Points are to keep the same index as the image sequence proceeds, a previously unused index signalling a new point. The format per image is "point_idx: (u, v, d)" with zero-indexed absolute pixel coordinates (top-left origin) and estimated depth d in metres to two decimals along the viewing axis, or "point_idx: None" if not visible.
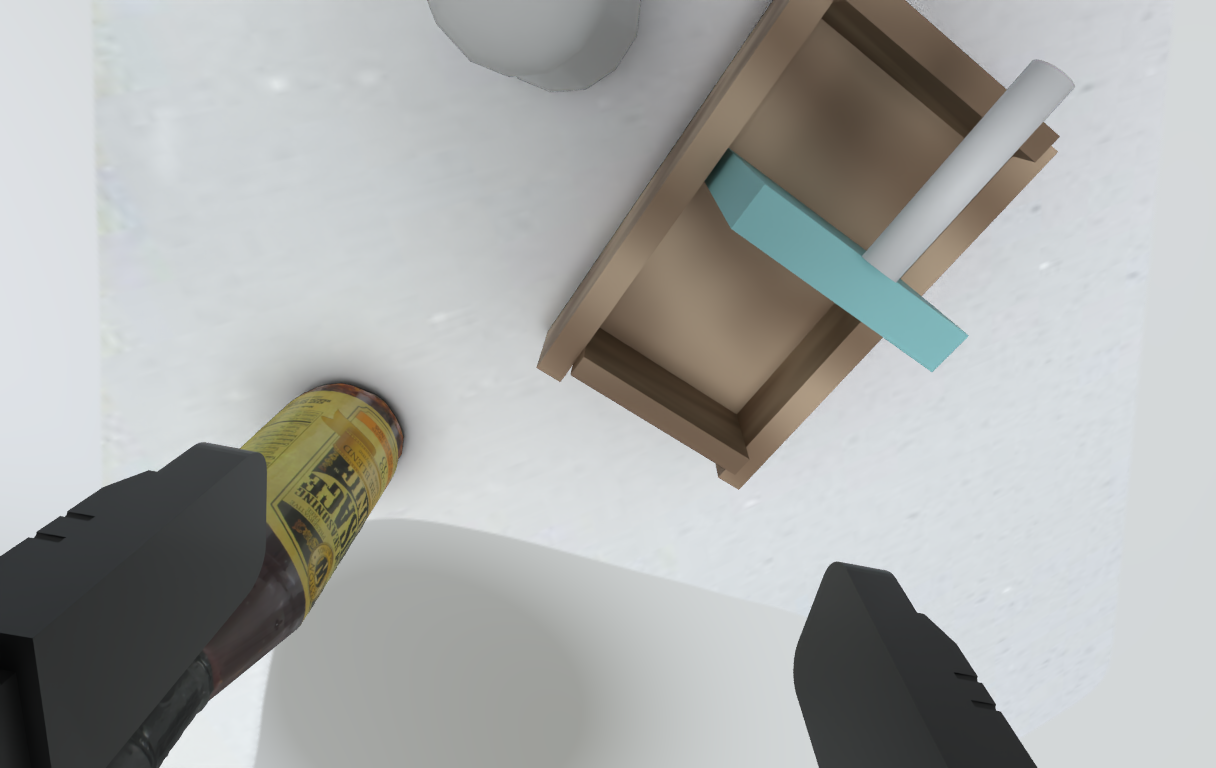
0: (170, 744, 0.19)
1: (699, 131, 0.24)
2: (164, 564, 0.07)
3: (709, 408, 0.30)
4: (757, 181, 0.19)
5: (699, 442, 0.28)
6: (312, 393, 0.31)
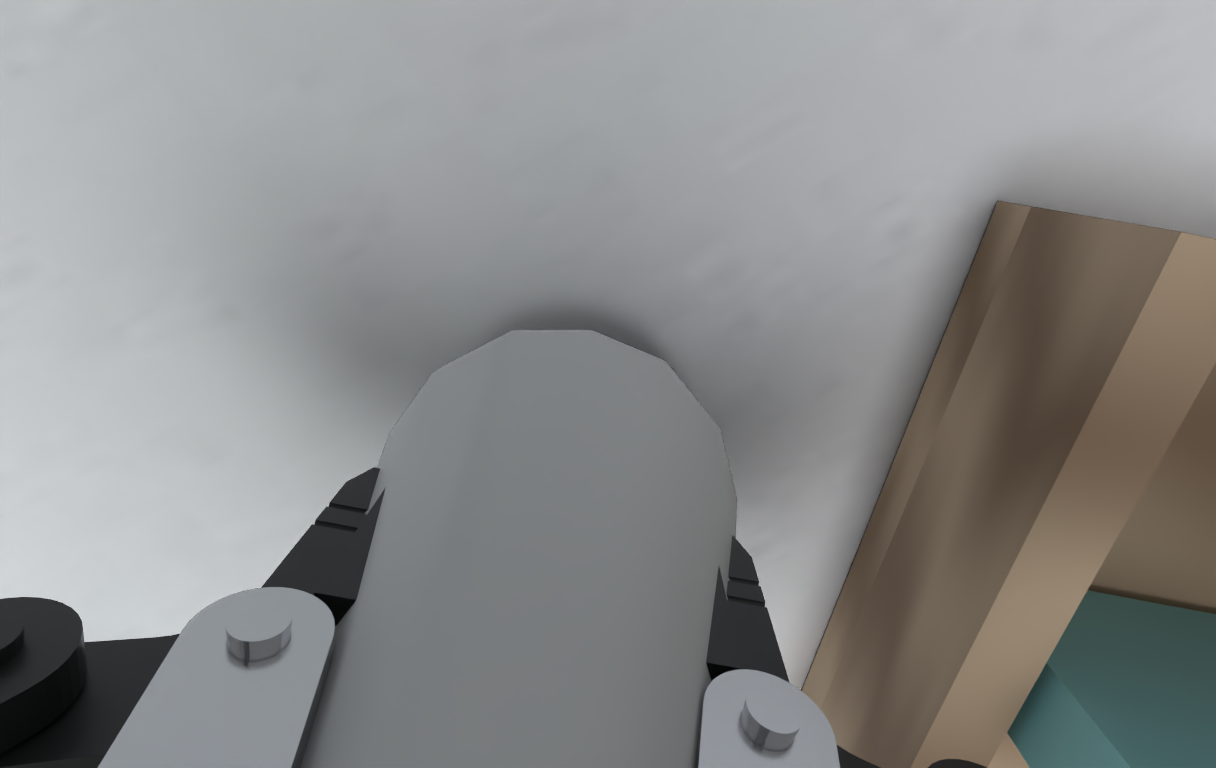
0: None
1: (959, 660, 0.10)
2: None
3: None
4: None
5: None
6: None
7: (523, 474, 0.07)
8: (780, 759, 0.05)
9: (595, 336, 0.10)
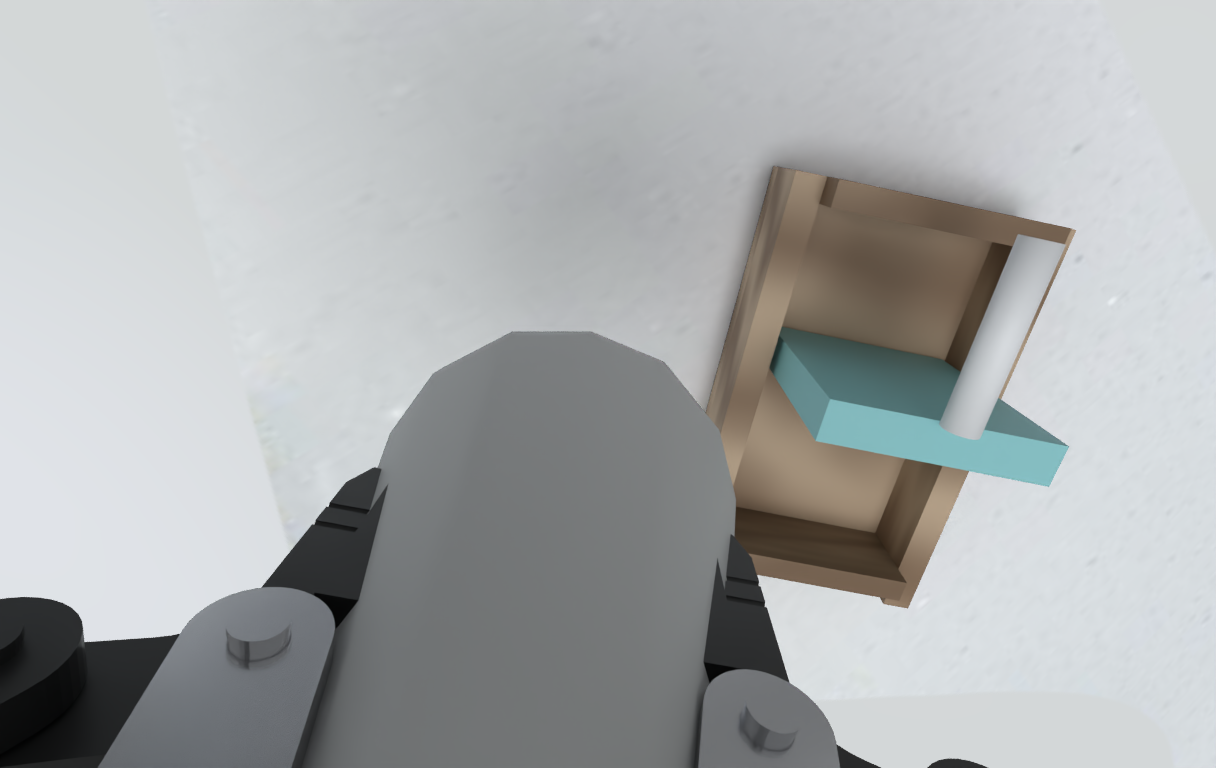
0: None
1: (748, 336, 0.27)
2: None
3: (848, 541, 0.32)
4: (821, 391, 0.22)
5: (853, 583, 0.29)
6: None
7: (521, 476, 0.07)
8: (780, 758, 0.05)
9: (595, 338, 0.10)
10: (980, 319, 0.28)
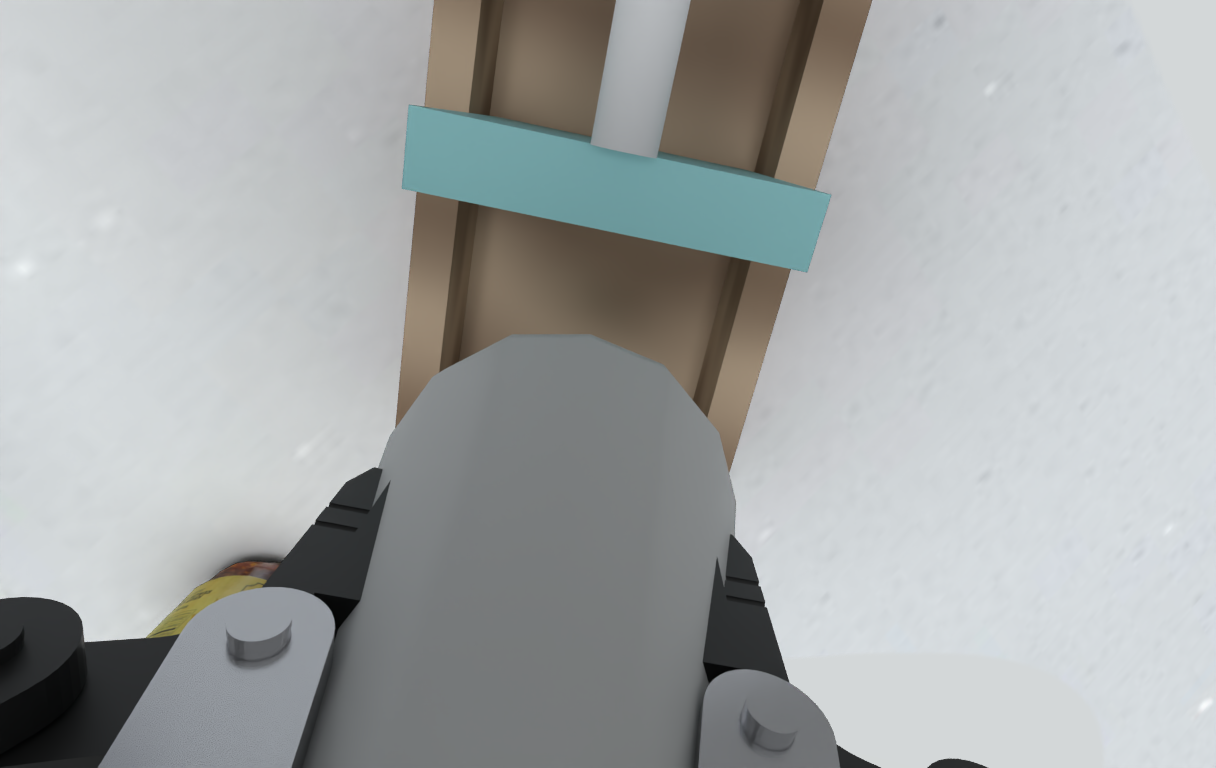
0: None
1: (426, 106, 0.18)
2: None
3: None
4: None
5: None
6: (197, 588, 0.26)
7: (521, 480, 0.07)
8: (780, 759, 0.05)
9: (594, 341, 0.10)
10: (785, 93, 0.19)
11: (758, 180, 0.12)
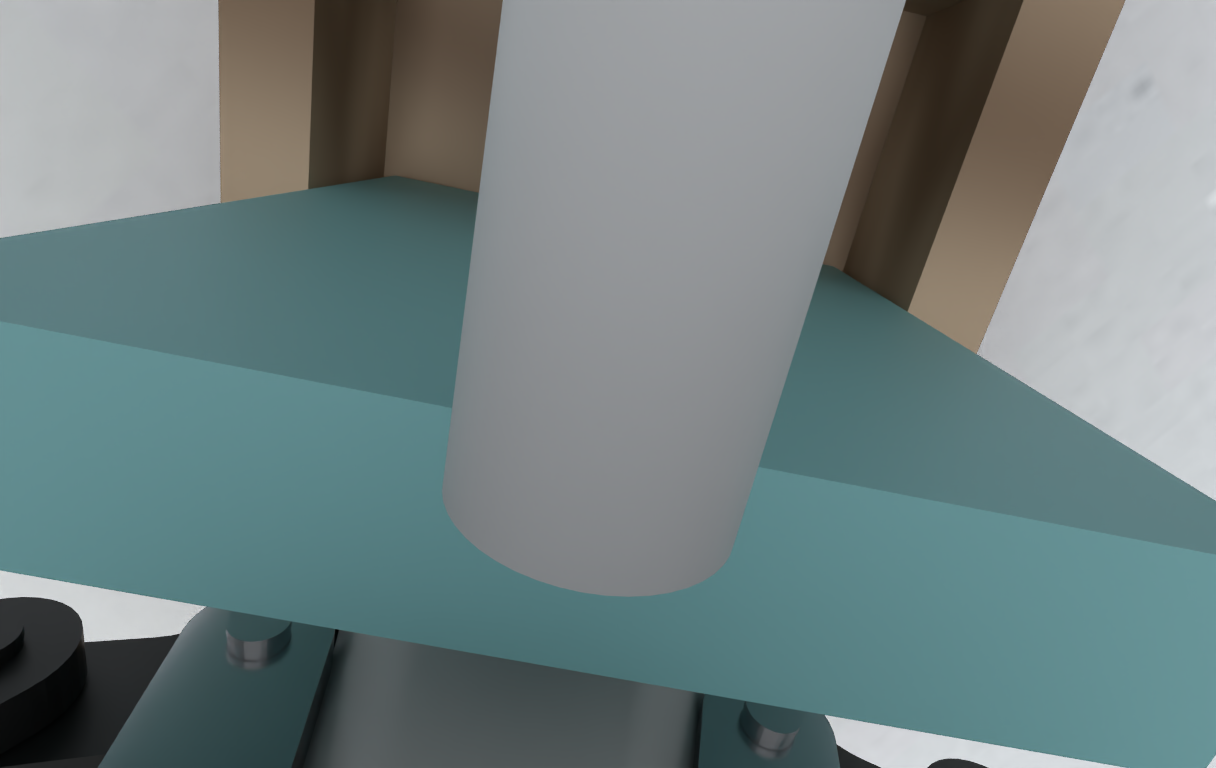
0: None
1: None
2: None
3: None
4: None
5: None
6: None
7: None
8: (780, 758, 0.05)
9: None
10: (891, 224, 0.10)
11: (1088, 535, 0.03)
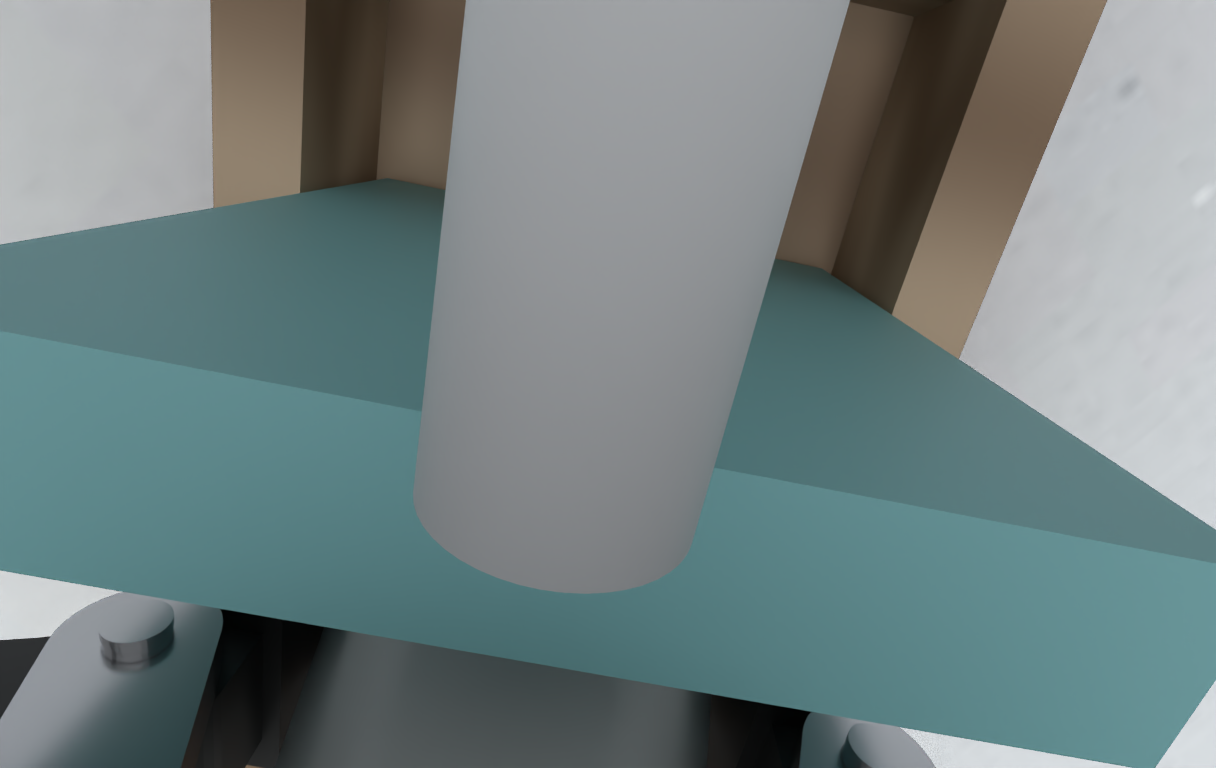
0: None
1: None
2: None
3: None
4: None
5: None
6: None
7: None
8: None
9: None
10: (878, 222, 0.11)
11: (1041, 534, 0.04)
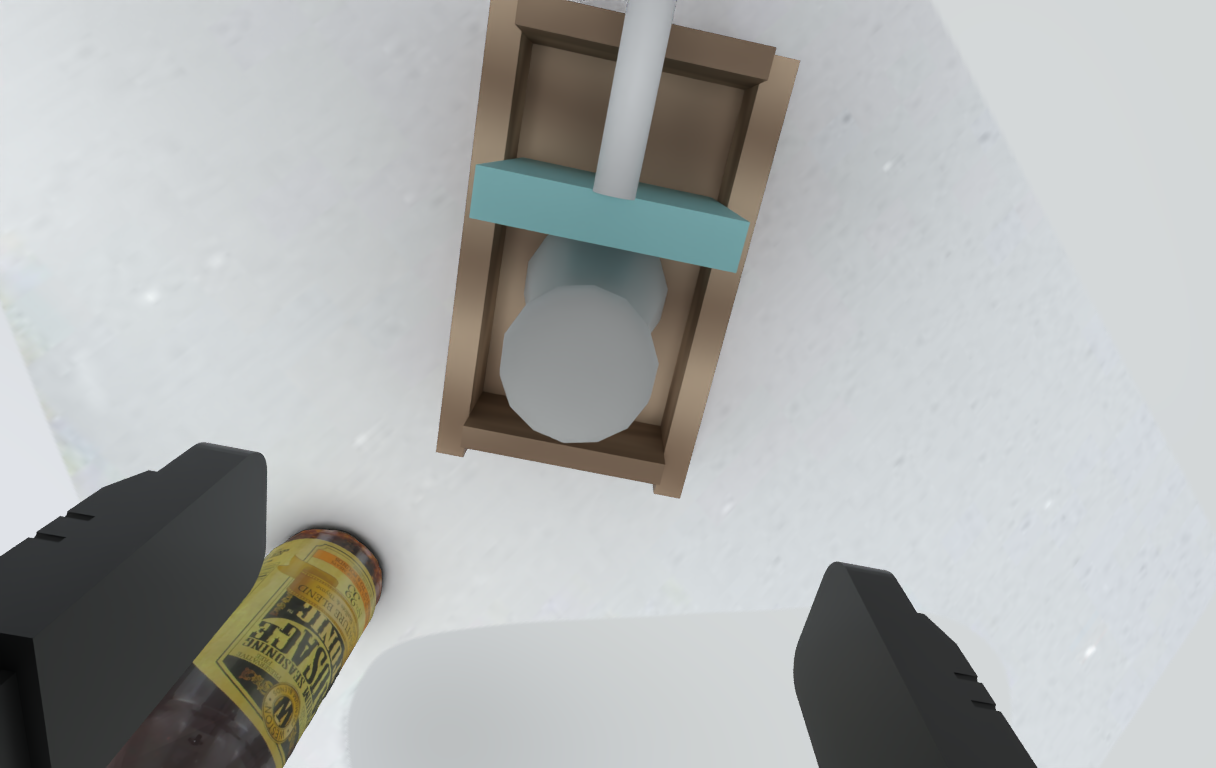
0: None
1: (469, 187, 0.25)
2: (164, 563, 0.07)
3: None
4: None
5: (608, 466, 0.28)
6: (276, 548, 0.33)
7: (589, 248, 0.23)
8: None
9: None
10: (729, 174, 0.26)
11: (702, 213, 0.19)
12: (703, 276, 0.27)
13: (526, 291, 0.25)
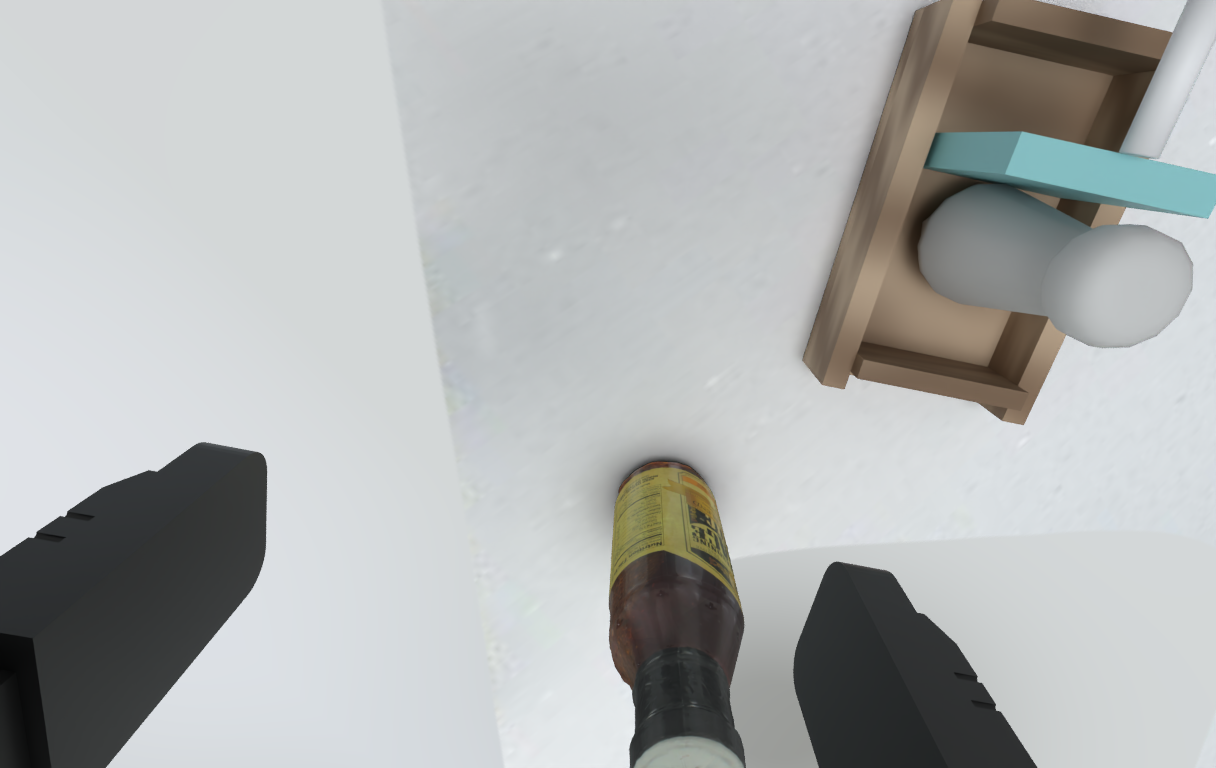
0: None
1: (899, 156, 0.30)
2: (164, 564, 0.07)
3: (967, 368, 0.35)
4: (1007, 134, 0.24)
5: (980, 394, 0.33)
6: (638, 476, 0.38)
7: (1030, 204, 0.28)
8: None
9: None
10: (1102, 146, 0.31)
11: (1193, 170, 0.24)
12: None
13: (941, 243, 0.30)
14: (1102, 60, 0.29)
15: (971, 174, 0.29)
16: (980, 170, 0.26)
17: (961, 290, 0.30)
